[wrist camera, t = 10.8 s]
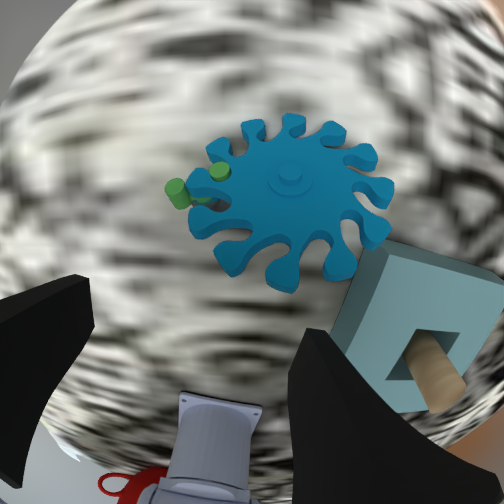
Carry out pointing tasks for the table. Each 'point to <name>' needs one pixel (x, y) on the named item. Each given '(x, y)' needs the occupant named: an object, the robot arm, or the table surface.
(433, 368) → the oak peg
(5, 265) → the table surface
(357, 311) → the socket block
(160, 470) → the ceramic cup
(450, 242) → the table surface
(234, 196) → the blue slotted wheel
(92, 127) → the table surface
